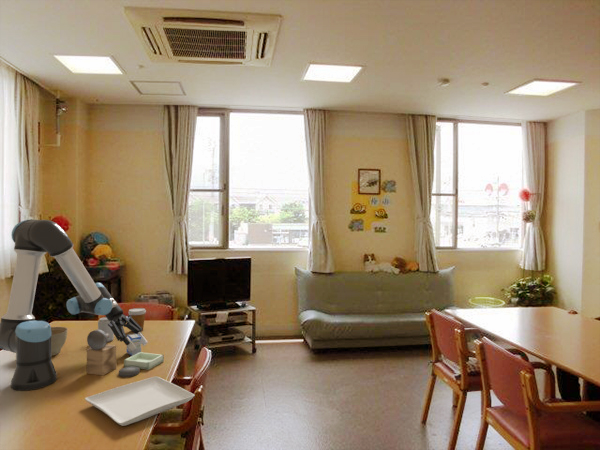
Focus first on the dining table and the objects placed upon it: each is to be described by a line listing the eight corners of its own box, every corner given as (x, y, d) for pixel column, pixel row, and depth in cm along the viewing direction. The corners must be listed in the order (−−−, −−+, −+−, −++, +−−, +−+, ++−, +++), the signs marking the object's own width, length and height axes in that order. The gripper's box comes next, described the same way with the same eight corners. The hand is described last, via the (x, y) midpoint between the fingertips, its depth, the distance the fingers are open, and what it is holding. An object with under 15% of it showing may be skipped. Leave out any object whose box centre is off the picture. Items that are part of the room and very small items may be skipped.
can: (107, 343, 213) (107, 320, 213) (94, 342, 214) (94, 319, 214) (116, 339, 220) (116, 316, 220) (104, 338, 222) (104, 316, 222)
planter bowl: (30, 351, 200) (29, 329, 200) (68, 346, 207) (68, 325, 207) (25, 362, 186) (25, 338, 185) (67, 356, 193) (66, 333, 193)
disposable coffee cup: (127, 329, 239) (127, 308, 239) (145, 327, 243) (145, 307, 243) (128, 333, 230) (128, 312, 230) (146, 331, 234) (146, 310, 234)
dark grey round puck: (130, 378, 168) (130, 374, 168) (114, 375, 170) (114, 372, 170) (143, 370, 176) (143, 367, 176) (127, 368, 178) (127, 365, 178)
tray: (148, 369, 177) (148, 362, 177) (124, 366, 180) (124, 359, 180) (163, 361, 187) (163, 354, 187) (139, 358, 191) (139, 352, 191)
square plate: (196, 404, 145) (196, 393, 145) (119, 435, 125) (119, 422, 125) (156, 383, 163) (156, 373, 163) (83, 407, 143) (83, 396, 143)
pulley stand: (102, 375, 171) (102, 331, 170) (86, 373, 173) (86, 330, 172) (116, 368, 178) (116, 326, 178) (101, 366, 181) (100, 325, 180)
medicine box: (126, 352, 198) (126, 334, 198) (135, 350, 201) (135, 332, 201) (131, 356, 192) (131, 338, 192) (141, 354, 195) (141, 336, 195)
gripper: (100, 309, 189) (129, 348, 185) (131, 301, 209) (158, 335, 205) (90, 320, 191) (119, 358, 187) (122, 310, 211) (149, 345, 206)
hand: (140, 346), depth 196 cm, fingers closed on medicine box, 8 cm apart
